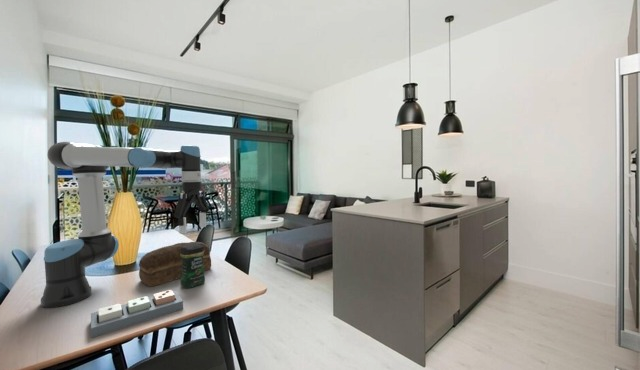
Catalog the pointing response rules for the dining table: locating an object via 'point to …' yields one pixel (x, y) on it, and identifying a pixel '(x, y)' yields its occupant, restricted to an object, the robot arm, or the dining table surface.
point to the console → (133, 316)
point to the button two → (138, 304)
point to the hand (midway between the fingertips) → (193, 229)
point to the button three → (163, 297)
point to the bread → (166, 264)
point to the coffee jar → (192, 265)
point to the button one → (110, 312)
